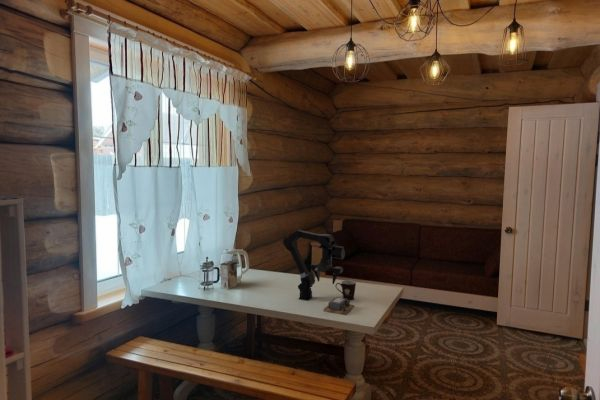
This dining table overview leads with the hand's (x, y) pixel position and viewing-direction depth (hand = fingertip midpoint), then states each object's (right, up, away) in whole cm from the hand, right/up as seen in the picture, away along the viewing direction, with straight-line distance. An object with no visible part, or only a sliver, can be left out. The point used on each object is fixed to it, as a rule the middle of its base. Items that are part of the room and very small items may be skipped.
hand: (325, 282), depth 235 cm
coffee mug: (+13, -11, +9) cm, 19 cm away
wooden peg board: (+7, -13, -10) cm, 17 cm away
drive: (+7, -12, -10) cm, 17 cm away
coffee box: (-61, -9, +29) cm, 68 cm away
